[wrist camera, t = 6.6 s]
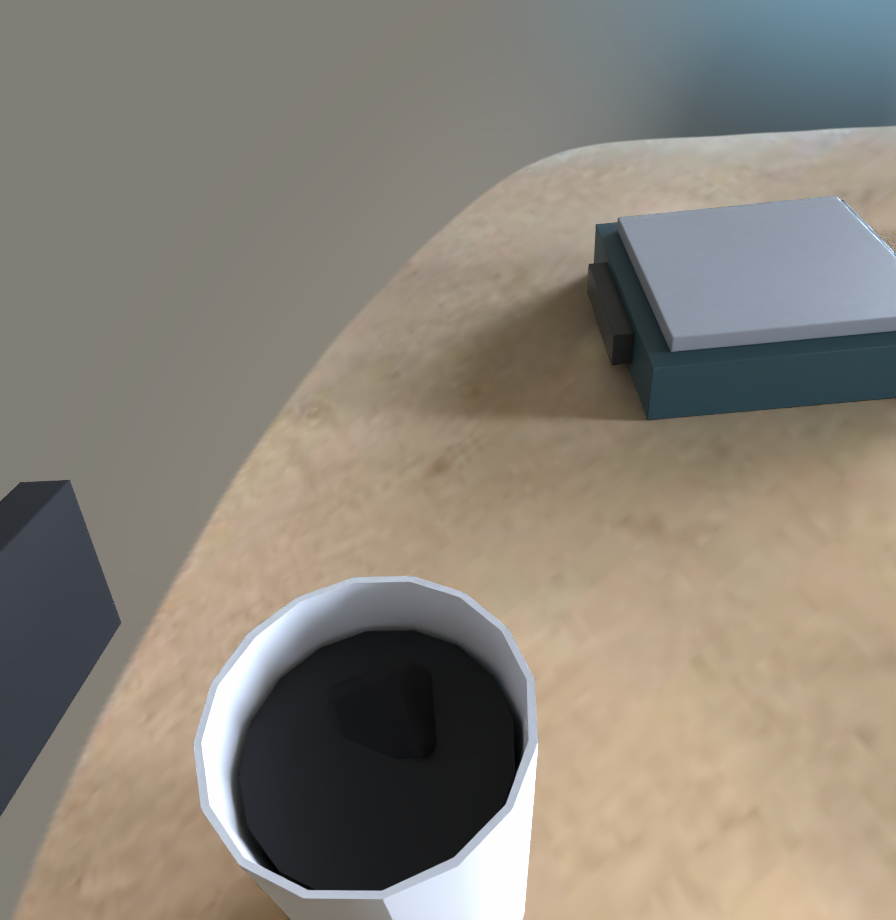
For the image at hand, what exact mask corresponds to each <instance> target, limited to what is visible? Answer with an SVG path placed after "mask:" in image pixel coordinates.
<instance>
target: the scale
mask: <svg viewBox="0 0 896 920" xmlns="http://www.w3.org/2000/svg"><path fill="white" fill-rule="evenodd" d="M587 292H588V295H589V298H590V301H591V305H592V308H593V311H594V314H595V317H596V320H597V323H598V326H599V329H600V332H601V335H602V338H603V341H604V344H605V347H606V350H607V353H608V356H609V359H610V362H611V365H623V364H627V365H628V368H629V371H630V374H631V377H632V379H633V382H634V385H635V388H636V391H637V393H638V396H639V399H640V402H641V405H642V407H643V410H644V413H645V416H646V419H647V420H654V419H665V418H676V417H687V416H698V415H709V414H720V413H731V412H742V411H753V410H764V409H776V408H787V407H798V406H809V405H820V404H831V403H842V402H853V401H864V400H875V399H886V398H896V253H895V252H894V251H893V250H892V249H891V248H890V247H889V246H888V245H887V244H886V243H885V242H884V241H883V240H882V239H881V238H880V237H879V236H878V235H877V234H876V233H875V232H874V231H873V230H872V229H871V228H870V227H869V226H868V225H867V224H866V223H865V222H864V221H863V220H862V219H861V218H860V217H859V216H858V215H857V214H856V213H855V212H854V211H853V210H852V209H851V208H850V207H849V206H848V205H847V204H846V203H845V202H844V201H843V200H839V199H838V197H837V196H828V197H818V198H808V199H798V200H788V201H778V202H768V203H758V204H748V205H738V206H728V207H718V208H708V209H698V210H688V211H678V212H668V213H658V214H648V215H638V216H628V217H619V218H618V222H616V223H606V224H596V232H595V253H594V264H589V267H588V291H587Z"/></svg>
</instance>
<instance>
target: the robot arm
mask: <svg viewBox="0 0 896 920" xmlns="http://www.w3.org/2000/svg"><path fill="white" fill-rule="evenodd" d="M120 624H121V621H120V618H119V615H118V613H117V610H116V607H115V604H114V601H113V599H112V596H111V593H110V590H109V588H108V585H107V582H106V579H105V577H104V574H103V571H102V568H101V565H100V563H99V560H98V557H97V555H96V552H95V549H94V546H93V544H92V541H91V538H90V535H89V532H88V529H87V527H86V524H85V521H84V518H83V516H82V513H81V510H80V508H79V505H78V502H77V499H76V497H75V494H74V491H73V488H72V485H71V482H70V480H61V481H40V482H21V483H19V484H18V485H17V486H16V487H15V488H14V489H13V490H12V491H11V492H10V493H9V494H8V495H7V496H6V497H4V498H3V499H2V500H1V501H0V816H1V814H2V813H3V811H4V810H5V808H6V807H7V805H8V803H9V802H10V800H11V799H12V797H13V795H14V794H15V792H16V790H17V789H18V787H19V786H20V784H21V782H22V781H23V779H24V778H25V776H26V774H27V773H28V771H29V770H30V768H31V766H32V765H33V763H34V762H35V760H36V758H37V757H38V755H39V754H40V752H41V750H42V749H43V747H44V746H45V744H46V742H47V741H48V739H49V738H50V736H51V734H52V733H53V731H54V730H55V728H56V726H57V725H58V723H59V722H60V720H61V718H62V717H63V715H64V714H65V712H66V710H67V709H68V707H69V706H70V704H71V702H72V701H73V699H74V698H75V696H76V694H77V693H78V691H79V690H80V688H81V686H82V685H83V683H84V682H85V680H86V678H87V677H88V675H89V674H90V672H91V670H92V669H93V667H94V666H95V664H96V662H97V661H98V659H99V657H100V656H101V654H102V653H103V651H104V650H105V648H106V646H107V645H108V643H109V641H110V640H111V638H112V637H113V635H114V634H115V632H116V630H117V629H118V627H119V625H120Z"/></svg>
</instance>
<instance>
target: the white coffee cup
mask: <svg viewBox="0 0 896 920" xmlns="http://www.w3.org/2000/svg"><path fill="white" fill-rule="evenodd" d="M193 747H194V755H195V763H196V772H197V780H198V788H199V796H200V804H201V810H202V811H203V813H204V814H205V815H206V817H207V818H208V820H209V821H210V823H211V824H212V826H213V827H214V829H215V830H216V832H217V833H218V835H219V836H220V838H221V839H222V841H223V842H224V844H225V845H226V847H227V848H228V849H229V851H230V852H231V854H232V855H233V857H234V858H235V860H236V861H237V863H238V864H239V865H240V867H241V868H242V869H243V870H244V871H245V872H246V873H247V874H248V875H249V876H250V877H251V878H252V879H253V880H254V881H255V882H256V883H257V884H258V885H259V886H260V887H261V889H262V890H263V891H264V892H265V893H266V894H267V895H268V896H269V897H270V898H271V899H272V900H273V901H274V902H275V903H276V904H277V905H278V906H279V907H280V908H281V910H282V911H283V912H284V913H285V914H286V915H287V916H288V917H289V918H290V919H291V920H522V918H523V915H524V907H525V895H526V883H527V871H528V859H529V846H530V834H531V822H532V810H533V798H534V786H535V774H536V761H537V749H538V732H537V713H536V694H535V679H534V677H533V675H532V673H531V671H530V669H529V667H528V665H527V663H526V661H525V659H524V657H523V655H522V654H521V652H520V650H519V648H518V646H517V644H516V642H515V640H514V638H513V636H512V634H511V632H510V630H509V629H508V627H507V626H505V625H504V624H503V623H502V622H501V621H499V620H498V619H497V618H496V617H494V616H493V615H492V614H491V613H489V612H488V611H487V610H486V609H484V608H483V607H482V606H481V605H479V604H478V603H477V602H476V601H475V600H473V599H472V598H471V597H470V596H468V595H467V594H466V593H464V592H461V591H458V590H455V589H452V588H449V587H445V586H442V585H439V584H436V583H433V582H430V581H427V580H423V579H420V578H417V577H414V576H385V577H354V578H351V579H348V580H345V581H342V582H339V583H336V584H333V585H331V586H328V587H325V588H322V589H319V590H316V591H313V592H310V593H307V594H304V595H301V596H298V597H297V598H296V599H294V600H293V601H292V602H290V603H289V604H287V605H286V606H285V607H283V608H282V609H280V610H279V611H278V612H276V613H275V614H274V615H272V616H271V617H269V618H268V619H267V620H265V621H264V622H262V623H261V624H260V625H258V626H257V627H256V628H254V629H253V630H251V631H250V632H249V633H248V634H247V635H246V637H245V638H244V640H243V641H242V642H241V644H240V645H239V646H238V648H237V649H236V650H235V652H234V653H233V654H232V656H231V657H230V659H229V660H228V661H227V663H226V664H225V665H224V667H223V668H222V669H221V671H220V672H219V673H218V675H217V676H216V678H215V679H214V680H213V682H212V683H211V686H210V689H209V693H208V696H207V700H206V703H205V706H204V710H203V713H202V717H201V720H200V723H199V727H198V730H197V733H196V737H195V740H194V744H193Z"/></svg>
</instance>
